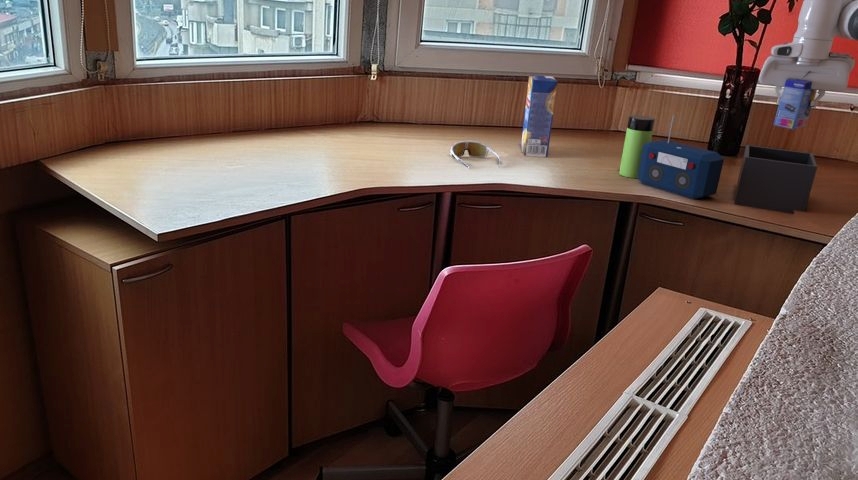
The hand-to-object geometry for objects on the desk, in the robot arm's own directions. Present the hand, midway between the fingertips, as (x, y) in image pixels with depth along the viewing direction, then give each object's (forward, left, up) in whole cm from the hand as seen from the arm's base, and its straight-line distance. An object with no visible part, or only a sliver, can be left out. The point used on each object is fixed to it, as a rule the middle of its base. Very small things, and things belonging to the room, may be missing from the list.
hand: (795, 105), depth 187 cm
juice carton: (+71, -16, -26) cm, 77 cm away
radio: (+25, +5, -26) cm, 36 cm away
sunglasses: (+83, +9, -26) cm, 87 cm away
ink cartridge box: (0, 0, -6) cm, 6 cm away
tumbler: (+38, -5, -26) cm, 46 cm away
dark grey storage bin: (+1, +1, -26) cm, 26 cm away
